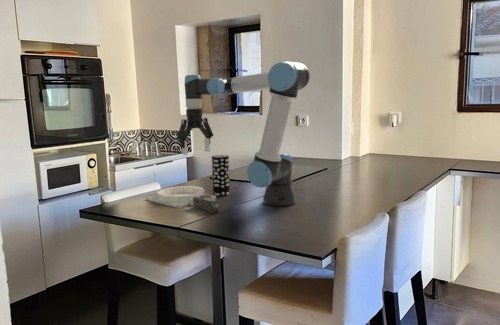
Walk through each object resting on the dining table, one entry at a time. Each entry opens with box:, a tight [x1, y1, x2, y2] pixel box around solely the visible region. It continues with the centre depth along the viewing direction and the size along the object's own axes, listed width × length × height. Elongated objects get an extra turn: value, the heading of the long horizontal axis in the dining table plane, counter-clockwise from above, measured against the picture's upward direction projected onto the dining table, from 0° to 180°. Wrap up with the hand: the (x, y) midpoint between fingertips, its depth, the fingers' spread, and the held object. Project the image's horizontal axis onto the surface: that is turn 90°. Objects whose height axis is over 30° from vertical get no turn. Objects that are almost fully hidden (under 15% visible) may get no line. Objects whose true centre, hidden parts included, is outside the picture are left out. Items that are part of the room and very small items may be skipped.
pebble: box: [188, 199, 195, 207], centre depth 210 cm, size 4×4×4 cm
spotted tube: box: [211, 154, 231, 197], centre depth 229 cm, size 8×8×20 cm
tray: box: [146, 193, 217, 209], centre depth 222 cm, size 24×23×2 cm
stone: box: [193, 195, 221, 214], centre depth 203 cm, size 14×7×10 cm, turn 56°
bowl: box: [156, 185, 206, 205], centre depth 222 cm, size 22×22×4 cm
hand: (196, 153), depth 218 cm, fingers open, 13 cm apart
